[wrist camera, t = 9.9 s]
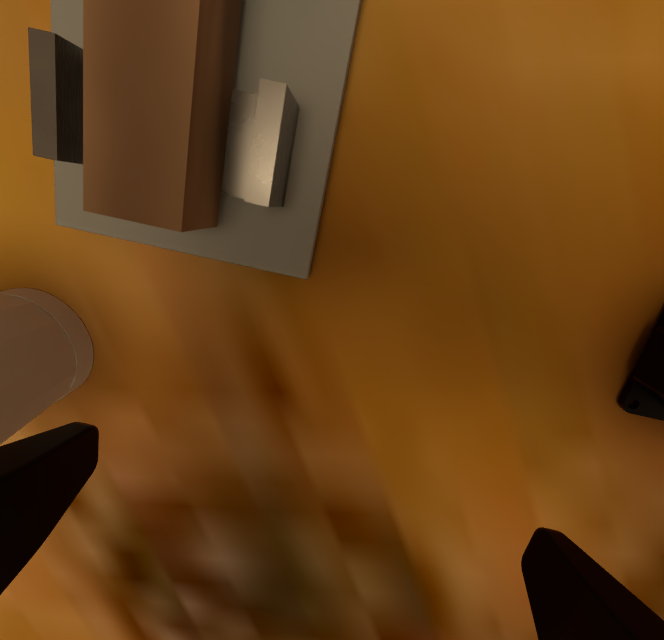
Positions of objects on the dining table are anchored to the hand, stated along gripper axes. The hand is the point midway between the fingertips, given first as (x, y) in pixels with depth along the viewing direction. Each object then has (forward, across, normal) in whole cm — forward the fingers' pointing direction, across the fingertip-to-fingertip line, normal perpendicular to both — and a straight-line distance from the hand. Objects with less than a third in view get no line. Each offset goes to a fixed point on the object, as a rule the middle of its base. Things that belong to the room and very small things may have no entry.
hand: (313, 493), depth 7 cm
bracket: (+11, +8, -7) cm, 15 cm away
